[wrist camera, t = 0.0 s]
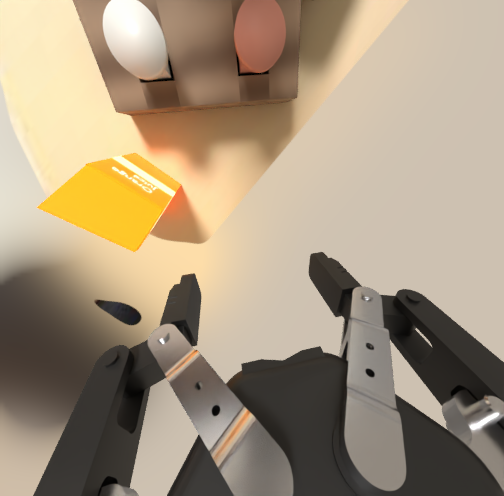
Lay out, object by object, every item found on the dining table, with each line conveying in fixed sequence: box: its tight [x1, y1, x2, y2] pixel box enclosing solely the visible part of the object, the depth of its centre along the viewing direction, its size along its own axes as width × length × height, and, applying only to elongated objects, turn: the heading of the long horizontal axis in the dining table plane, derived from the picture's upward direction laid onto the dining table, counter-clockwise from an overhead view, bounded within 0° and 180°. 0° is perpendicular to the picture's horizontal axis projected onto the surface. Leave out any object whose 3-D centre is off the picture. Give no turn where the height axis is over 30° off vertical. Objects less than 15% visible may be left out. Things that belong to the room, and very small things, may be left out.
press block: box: [73, 0, 301, 115], centre depth 26 cm, size 10×26×5 cm, turn 95°
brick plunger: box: [234, 0, 286, 74], centre depth 22 cm, size 6×6×6 cm
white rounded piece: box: [103, 0, 172, 80], centre depth 21 cm, size 6×6×6 cm
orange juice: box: [37, 153, 181, 252], centre depth 27 cm, size 8×9×20 cm
